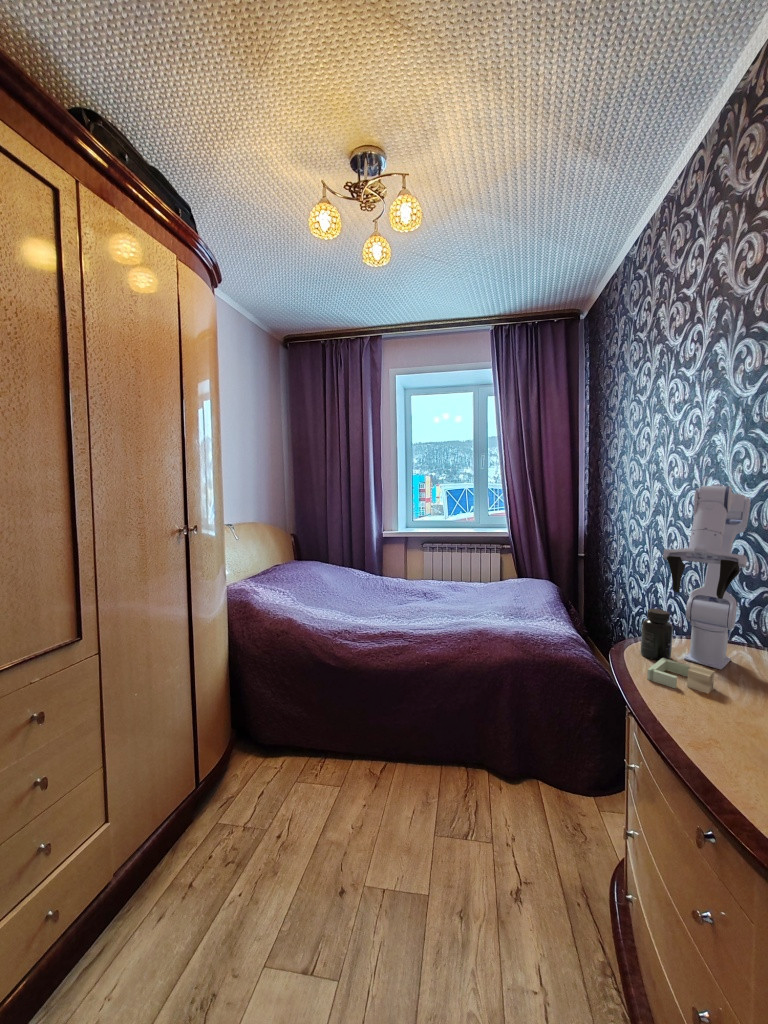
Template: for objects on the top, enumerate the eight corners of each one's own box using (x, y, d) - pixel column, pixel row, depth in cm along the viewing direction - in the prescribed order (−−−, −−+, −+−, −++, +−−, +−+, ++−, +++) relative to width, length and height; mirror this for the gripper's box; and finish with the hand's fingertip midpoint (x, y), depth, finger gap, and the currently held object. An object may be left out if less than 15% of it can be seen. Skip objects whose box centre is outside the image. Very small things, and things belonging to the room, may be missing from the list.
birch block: (692, 681, 103) (693, 665, 102) (713, 688, 100) (714, 671, 99) (686, 687, 100) (688, 670, 100) (708, 694, 97) (709, 676, 97)
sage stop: (661, 667, 110) (662, 657, 110) (688, 675, 106) (689, 665, 106) (647, 679, 103) (647, 669, 103) (674, 688, 99) (675, 678, 99)
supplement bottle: (675, 663, 112) (679, 616, 111) (645, 660, 114) (649, 614, 113) (664, 652, 119) (667, 608, 118) (636, 649, 120) (639, 606, 119)
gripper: (664, 525, 101) (652, 581, 97) (745, 529, 90) (736, 592, 86) (672, 538, 105) (662, 593, 101) (751, 543, 94) (743, 605, 90)
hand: (696, 593), depth 94 cm, fingers open, 7 cm apart
